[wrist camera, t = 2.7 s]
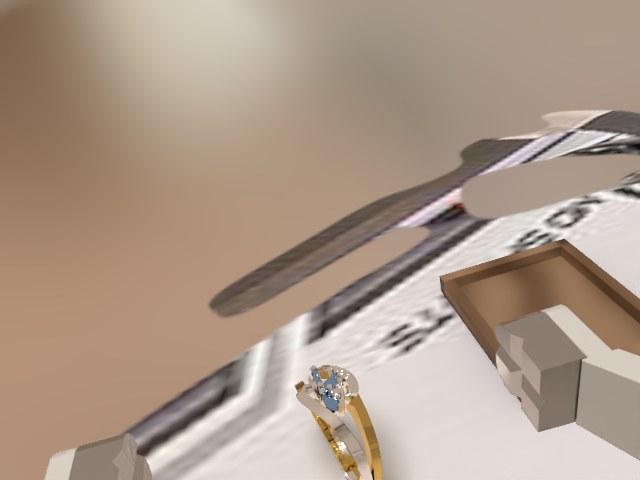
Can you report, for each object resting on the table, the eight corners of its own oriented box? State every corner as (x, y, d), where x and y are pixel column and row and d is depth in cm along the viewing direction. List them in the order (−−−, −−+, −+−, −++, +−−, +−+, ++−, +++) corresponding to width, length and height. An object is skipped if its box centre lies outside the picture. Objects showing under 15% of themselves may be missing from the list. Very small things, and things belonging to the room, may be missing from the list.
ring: (404, 505, 30) (384, 408, 25) (353, 535, 29) (324, 440, 25) (348, 419, 35) (323, 329, 31) (304, 442, 34) (273, 353, 30)
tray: (563, 253, 45) (564, 238, 44) (684, 355, 34) (688, 337, 33) (441, 290, 44) (439, 276, 44) (524, 407, 33) (524, 390, 33)
